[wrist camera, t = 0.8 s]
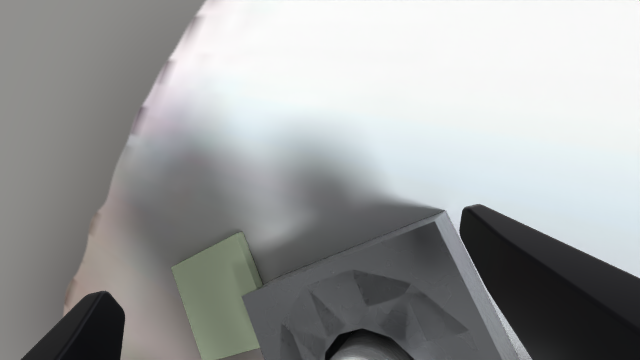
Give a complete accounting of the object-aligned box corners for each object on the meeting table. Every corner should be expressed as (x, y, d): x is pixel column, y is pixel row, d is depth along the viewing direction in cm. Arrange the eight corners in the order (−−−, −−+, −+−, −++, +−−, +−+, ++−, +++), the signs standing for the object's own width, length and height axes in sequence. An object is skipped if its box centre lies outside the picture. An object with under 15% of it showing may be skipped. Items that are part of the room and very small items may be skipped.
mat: (283, 337, 26) (277, 342, 25) (210, 358, 30) (203, 363, 29) (242, 231, 27) (235, 233, 27) (178, 265, 31) (170, 267, 31)
